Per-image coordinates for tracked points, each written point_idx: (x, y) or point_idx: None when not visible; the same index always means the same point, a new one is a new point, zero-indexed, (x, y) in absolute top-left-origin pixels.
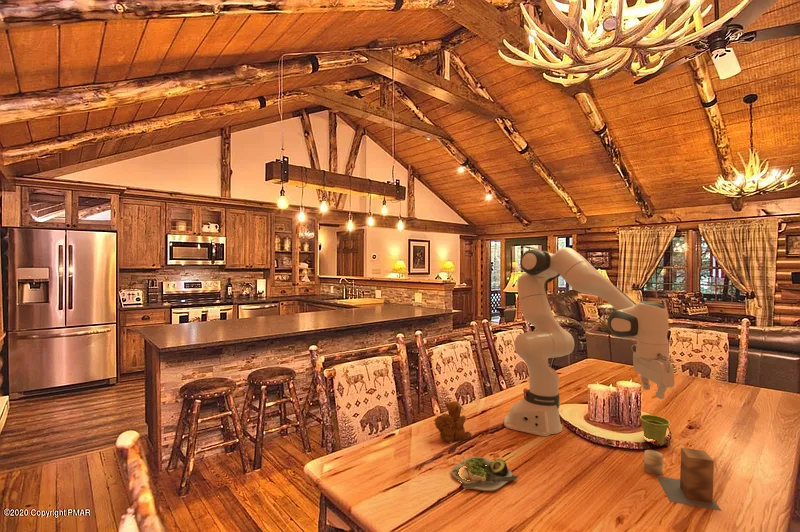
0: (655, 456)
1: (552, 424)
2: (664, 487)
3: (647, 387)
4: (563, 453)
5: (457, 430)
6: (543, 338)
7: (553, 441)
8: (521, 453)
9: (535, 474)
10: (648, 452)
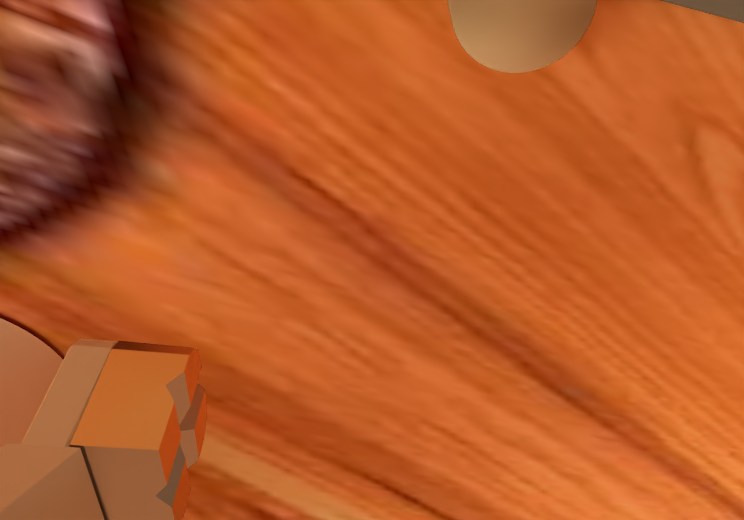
0: (575, 16)
1: (37, 408)
2: (723, 1)
3: (185, 420)
4: (305, 368)
5: None
6: None
7: None
8: (338, 500)
9: (516, 490)
10: (499, 39)
